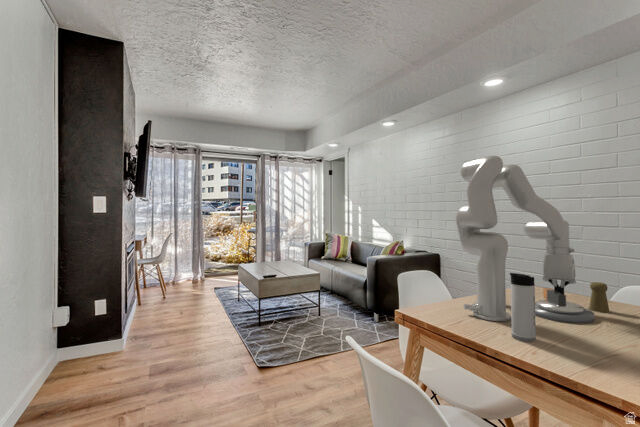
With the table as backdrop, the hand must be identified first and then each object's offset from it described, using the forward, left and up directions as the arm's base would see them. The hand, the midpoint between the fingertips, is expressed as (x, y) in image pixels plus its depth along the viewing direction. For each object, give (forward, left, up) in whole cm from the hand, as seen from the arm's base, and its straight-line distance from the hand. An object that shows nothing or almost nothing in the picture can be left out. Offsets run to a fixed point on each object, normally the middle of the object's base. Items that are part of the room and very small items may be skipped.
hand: (559, 296), depth 126 cm
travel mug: (-28, -34, -5) cm, 45 cm away
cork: (+14, +1, -5) cm, 15 cm away
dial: (-4, -6, -3) cm, 8 cm away
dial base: (-4, -7, -5) cm, 10 cm away
